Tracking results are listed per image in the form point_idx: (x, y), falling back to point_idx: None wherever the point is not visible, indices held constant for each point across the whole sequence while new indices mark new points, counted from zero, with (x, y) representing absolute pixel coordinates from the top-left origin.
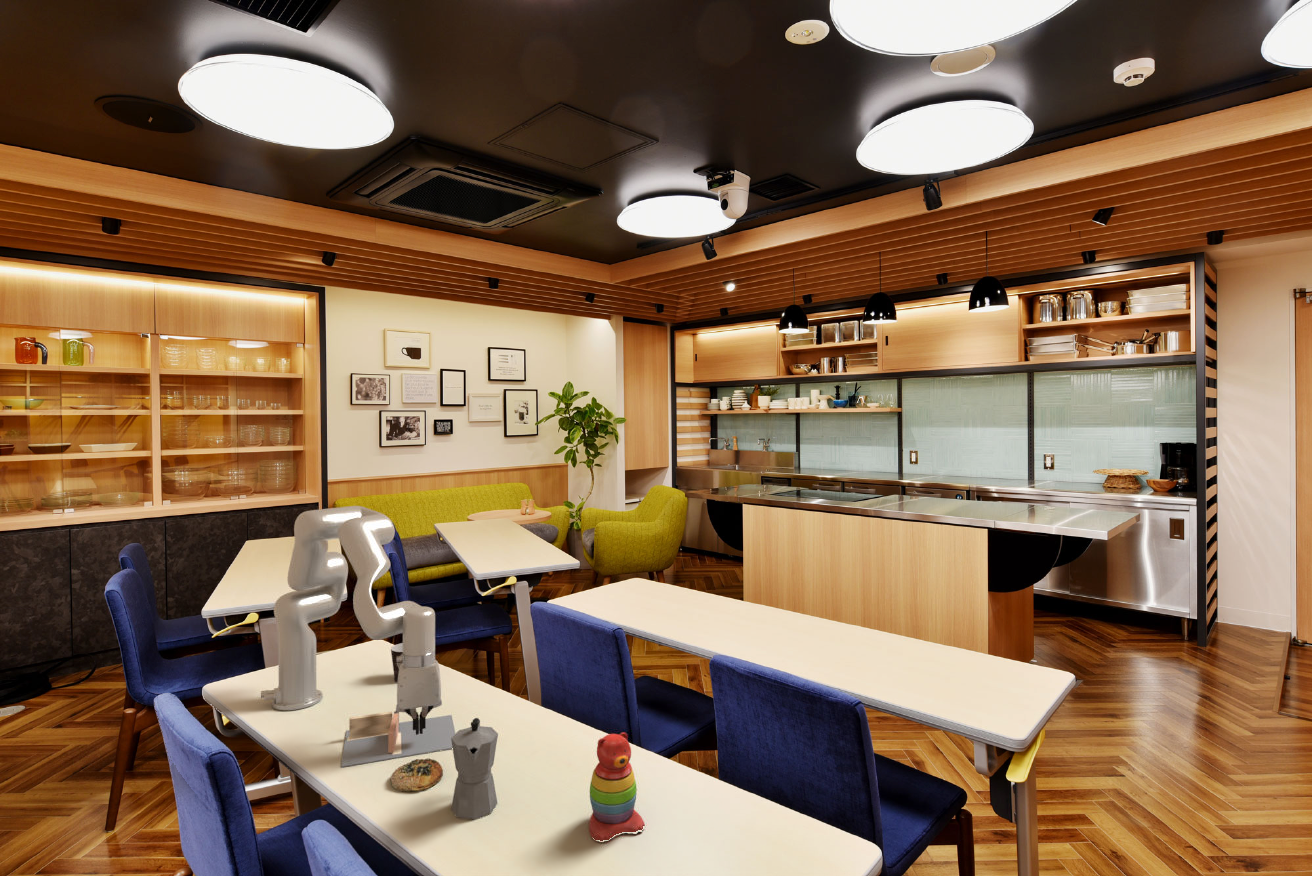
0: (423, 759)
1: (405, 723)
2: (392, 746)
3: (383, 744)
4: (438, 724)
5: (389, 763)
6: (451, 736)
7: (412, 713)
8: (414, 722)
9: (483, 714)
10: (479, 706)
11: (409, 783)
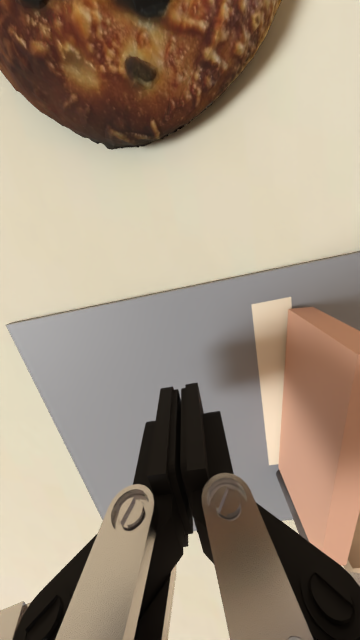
0: (72, 12)
1: None
2: (310, 317)
3: None
4: None
5: (298, 225)
6: (66, 412)
7: (252, 540)
8: (216, 451)
9: (11, 531)
10: (43, 569)
11: None
